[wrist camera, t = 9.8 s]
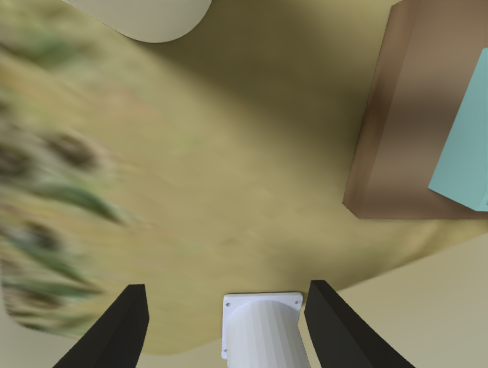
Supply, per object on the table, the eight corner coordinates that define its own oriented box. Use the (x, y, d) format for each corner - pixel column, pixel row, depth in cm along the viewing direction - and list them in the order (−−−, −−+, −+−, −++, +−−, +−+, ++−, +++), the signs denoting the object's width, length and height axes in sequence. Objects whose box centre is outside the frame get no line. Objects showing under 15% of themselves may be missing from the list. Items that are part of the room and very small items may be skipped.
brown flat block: (475, 205, 21) (529, 229, 17) (342, 203, 20) (370, 229, 16) (565, 25, 16) (671, 5, 12) (391, 6, 14) (450, -24, 11)
